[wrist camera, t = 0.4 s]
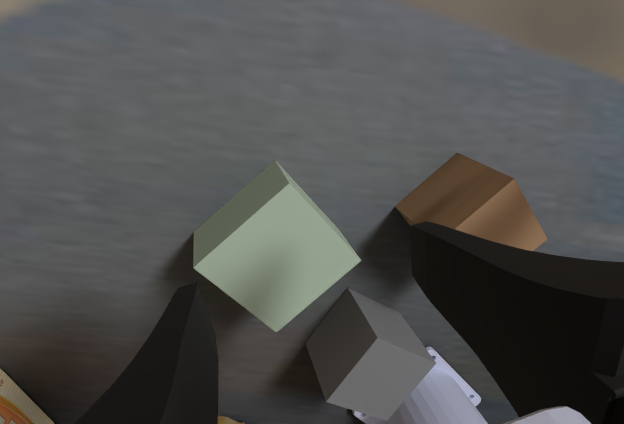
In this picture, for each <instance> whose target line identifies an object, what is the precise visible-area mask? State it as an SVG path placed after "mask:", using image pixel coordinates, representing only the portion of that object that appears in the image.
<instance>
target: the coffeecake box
mask: <svg viewBox="0 0 624 424" xmlns="http://www.w3.org/2000/svg"><path fill="white" fill-rule="evenodd" d="M0 424H55V423H54V422H53V421H52V420H51V419H50V418H49V417H48V416H47V415H46V414H45V413H44V412H43V411H42V410H41V409H40V408H39V407H38V406H37V405H36V404H35V403H34V402H33V401H32V400H31V399H30V398H29V397H28V396H27V395H26V394H25V393H24V392H23V391H22V390H21V389H20V388H19V387H18V386H17V385H16V384H15V383H14V382H13V381H12V379H11V378H10V377H9V376H8V375H7V374H6V373H5V372H4V371H3V370H2V369H1V368H0Z"/></svg>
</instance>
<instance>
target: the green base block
mask: <svg viewBox="0 0 624 424" xmlns="http://www.w3.org/2000/svg"><path fill="white" fill-rule="evenodd" d="M360 261H361V259H360V258H359V257H358V255H357V254H356V252H355V251H354V250H353V248H352V247H351V246H350V244H349V243H348V242H347V240H346V239H345V237H344V236H343V235H342V233H341V232H340V231H339V229H338V228H337V227H336V226H335V225H334V224H333V223H332V222H331V221H330V219H329V218H328V217H327V216H326V215H325V214H324V213H323V212H322V211H321V210H320V209H319V207H318V206H317V205H316V204H315V203H314V202H313V201H312V200H311V199H310V198H309V197H308V195H307V194H306V193H305V192H304V191H303V190H302V189H301V188H300V187H299V186H298V185H297V184H296V182H295V181H294V180H293V179H292V178H291V177H290V176H289V175H288V174H287V173H286V172H285V170H284V169H283V168H282V167H281V166H280V165H279V164H278V163H277V162H276V161H275V160H274V161H273V162H272V163H271V164H270V165H269V166H267V167H266V168H265V169H264V170H263V171H262V172H261V173H260V174H258V175H257V176H256V177H255V178H254V179H253V180H252V181H251V182H249V183H248V184H247V185H246V186H245V187H244V188H243V189H242V190H240V191H239V192H238V193H237V194H236V195H235V196H234V197H233V198H231V199H230V200H229V201H228V202H227V203H226V204H225V205H224V206H222V207H221V208H220V209H219V210H218V211H217V212H216V213H215V214H213V215H212V216H211V217H210V218H209V219H208V220H207V221H206V222H204V223H203V224H202V225H201V226H200V227H199V228H198V229H197V230H195V231H194V249H193V268H194V269H195V270H197V271H198V272H199V273H201V274H202V275H203V276H204V277H206V278H207V279H208V280H210V281H211V282H212V283H213V284H215V285H216V286H217V287H219V288H220V289H221V290H222V291H224V292H225V293H226V294H228V295H229V296H230V297H231V298H233V299H234V300H235V301H237V302H238V303H239V304H240V305H242V306H243V307H244V308H246V309H247V310H248V311H249V312H251V313H252V314H253V315H255V316H256V317H257V318H258V319H260V320H261V321H262V322H264V323H265V324H266V325H267V326H269V327H270V328H271V329H273V330H274V331H275V332H278V331H279V330H280V329H281V328H282V327H283V326H285V325H286V324H287V323H288V322H289V321H291V320H292V319H293V318H294V317H295V316H296V315H298V314H299V313H300V312H301V311H302V310H304V309H305V308H306V307H307V306H308V305H309V304H311V303H312V302H313V301H314V300H315V299H317V298H318V297H319V296H320V295H321V294H322V293H324V292H325V291H326V290H327V289H328V288H330V287H331V286H332V285H333V284H334V283H335V282H337V281H338V280H339V279H340V278H341V277H342V276H344V275H345V274H346V273H347V272H348V271H350V270H351V269H352V268H353V267H354V266H355V265H357V264H358V263H359V262H360Z"/></svg>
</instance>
